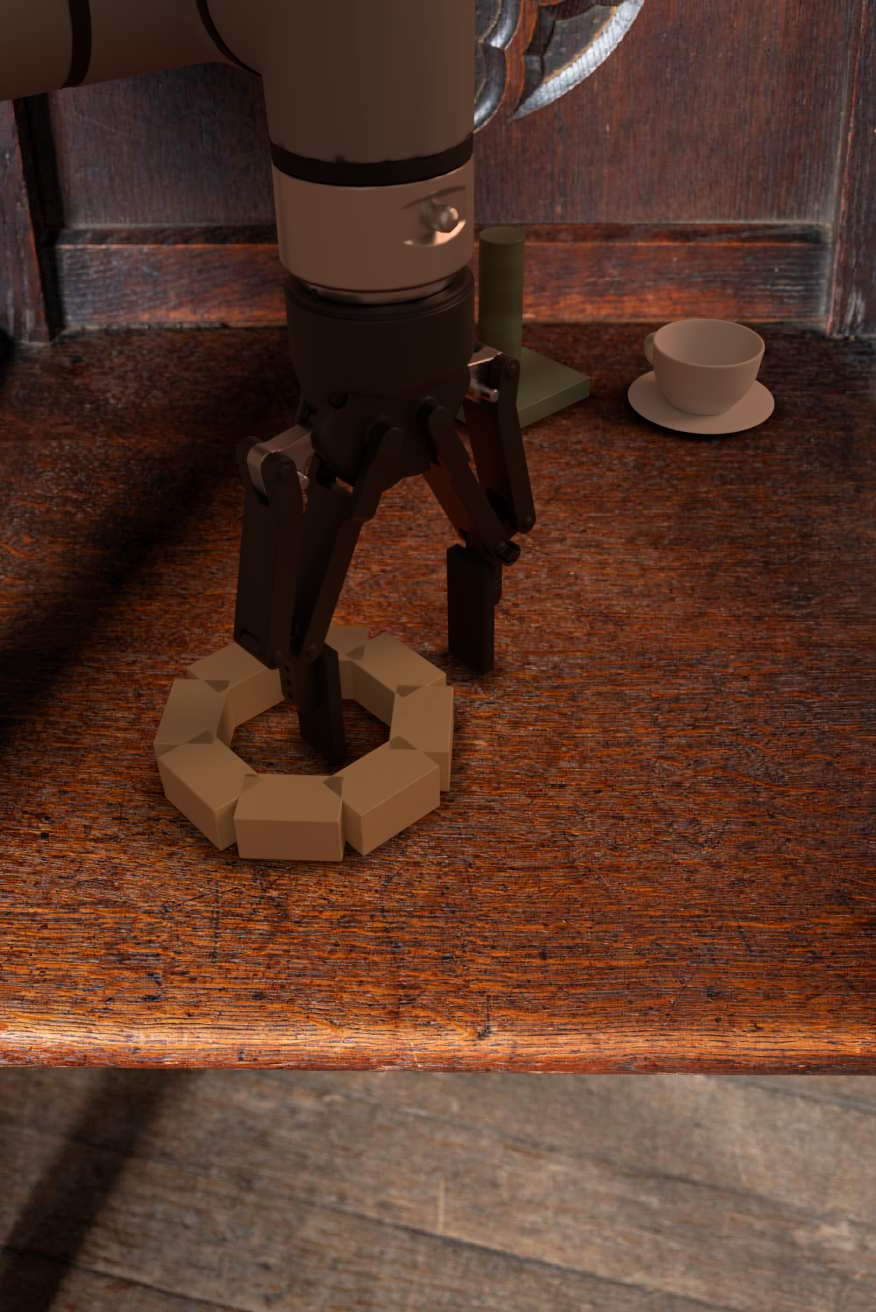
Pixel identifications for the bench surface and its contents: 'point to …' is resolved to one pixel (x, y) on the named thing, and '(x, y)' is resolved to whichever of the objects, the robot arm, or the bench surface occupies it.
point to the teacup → (703, 378)
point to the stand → (519, 329)
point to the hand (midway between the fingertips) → (400, 701)
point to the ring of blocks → (307, 806)
